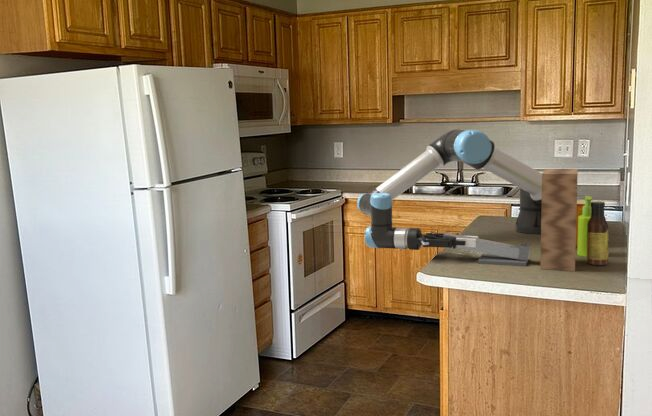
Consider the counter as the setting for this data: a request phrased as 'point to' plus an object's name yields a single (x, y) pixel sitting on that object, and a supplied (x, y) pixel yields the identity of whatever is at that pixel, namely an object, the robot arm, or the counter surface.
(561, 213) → the brown wooden block
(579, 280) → the counter surface
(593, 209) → the sauce bottle
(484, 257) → the base plate
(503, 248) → the pin
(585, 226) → the soap dispenser
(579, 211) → the baking soda box
